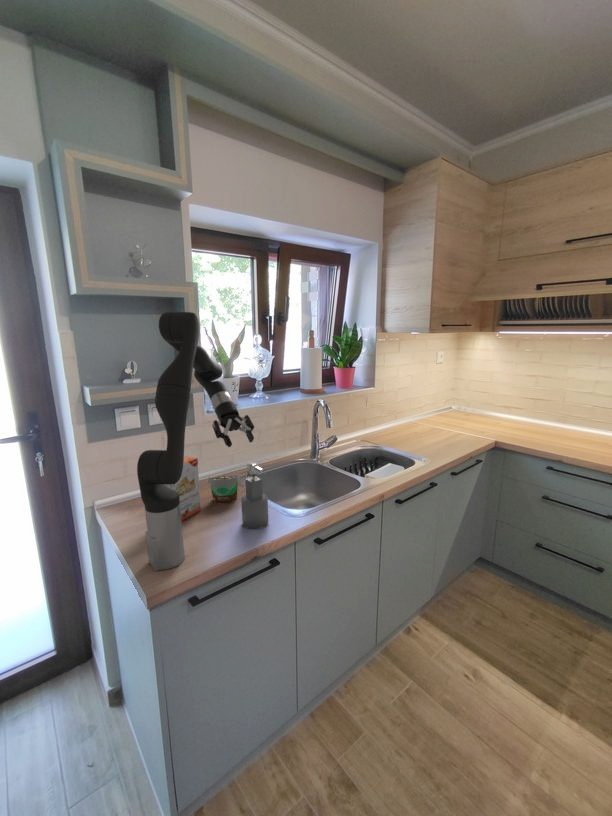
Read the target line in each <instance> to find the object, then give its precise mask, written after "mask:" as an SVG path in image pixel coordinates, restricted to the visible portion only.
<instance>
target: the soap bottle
mask: <svg viewBox="0 0 612 816" xmlns="http://www.w3.org/2000/svg"><path fill="white" fill-rule="evenodd" d="M268 498H269V497H268V496H267V495H266V493H263V480H262V478H260V477H258V476H255V480H252V477H251V476H250V477H248V478H245V495H243V496H242V497H241V498H240V502H241V504H240V505H241V518H242V519H241V521H242V523H241V525H242V526H243V527H244V528H245V529H248V530H259V529H262V527H263V528H265V527H266V526H267V525H268V524H269V502H268ZM264 526H265V527H264Z"/></svg>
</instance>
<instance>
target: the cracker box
mask: <svg viewBox="0 0 612 816" xmlns="http://www.w3.org/2000/svg"><path fill="white" fill-rule="evenodd" d="M198 459H199V458H198V457H194V456H188V455H186V456H184V462H183V470H182V475H181V477H180V479H179V481H178V482H177V483H176V484H164V485H165V486H167V487H168V488H170V489H172V490H175V491H176V492H177V493H178V494H179V498H180V509H181V520H182V522H183V521H184V520H186V519H188V518H190V517H192V516H193V515H195V514H197V513H199V512H200V511H201V496H200V495H201V494H200V491H201V490H200V477H199V476H200V475H199V463H198V462H199V460H198Z"/></svg>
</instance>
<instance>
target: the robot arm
mask: <svg viewBox="0 0 612 816" xmlns="http://www.w3.org/2000/svg"><path fill="white" fill-rule="evenodd" d="M158 330H159V333H160V335H161V337H162V339H163V340H164V341H165V342H166V343H167V344H169V346H171V347H172V348H173V349H175V350H176V351H177V352H178V354H177V355H176V356H175V358H174V359H173V361H172V362H171V363H169V365H168V366H167V368H166V369H164V371H163V373H162V374H161V375H160V377H159V379H158V381H157V385H156V390H155V396H154V397H155V399H154V405H155V408H156V410H157V411H156V412H157V413H158V416H159V417H160V419H161V421H162V423H163V425H164V429H165V431H166V438H167V439H166V450H165V449H164V450H163V449H147V450H144V451H143V452H142V453H141V454H140V455H139V457H138V460H137V466H136V469H137V470H136V472H137V480H138V485H139V491H140V497H141V501H142V503H143V504H144V512H145V519H146V520H145V521H146V529H147V531H145V542H146V550H147V551H146V552H147V559H148V563H149V565H150V566H151V568H152V570H154V572H158V571H165V570H170V569H173V568H176V567H177V566H179V565H180V564H182V563H183V562H184V560H185V559H186V558H185V557H186V554H185V547H184V544H185V543H184V535H183V523H182V522H183V521H182V520H181V509H180V498H179V494H178V493H177V492H176V491H175V490H172V489H170V488H168V487H167V486H165V485H164V484H176V483H177V482H178V481H179V479H180V477H181V475H182V470H183V462H184V457H185V438H186V436H185V435H186V424H187V418H188V410H189V406H190V405H189V403H190V397H191V390H192V389H191V388H192V380H193V379H192V377H193V376H194V378H195V380H196V381H197V382H198V383H199V384H200V385H201V387H203V389H204V390H205V392H206V393H207V395H208V398H209V400H210V402H211V406H212V408H213V410H214V413H215V415H216V418H217V419H218V420H216V419H215V420H213V423H212V425H211V426H212V429H213V432H214V434H215V438H217V439H223V442H224V444H225V446H226V447H228V448H231V447H232V445H233V442H232V440H231V438H230V435H228V433H229V432H233V431H240V432H243V433H245V436H246V438H247V439H248V443H253V441H254V439H255V436H254V435H253V433H252V432H253V431H254V429H255V425H254V423H253V421H252V420H251V418H250V416H249V414H246V415H245V416H240V414H239V411H238V408H237V406H236V404H235V402H234V400H233V398H232V397H231V395H230V393H229V391H228V389H227V387H226V385H225V383H224V382H223V381H221V380H218V379H220V378H221V377H222V376H223V368H222V366H221V364H220V363H219V362H218V361H217V360H215V359H214V358H212V357H210V355H209V354H208V351H207V350H206V349H205V348H204V347H203V346H202V345H201V344H199V340H200V332H201V321H200V317H199V316H198V314H197V313H195V312H191V311H166V312H164V313H161V315H160V317H159V320H158ZM193 370H194V371H193ZM221 427H222V428H223V432H222V430H221Z"/></svg>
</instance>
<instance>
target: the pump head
mask: <svg viewBox="0 0 612 816" xmlns="http://www.w3.org/2000/svg"><path fill="white" fill-rule="evenodd" d="M246 471H247V472H246V474H247V476H248V477H250V478H251V477H252V480H255V476H256V477H258V476H259V475H260V473H263V472H264V468H262V467H260V464H259V463H258V462H249V463H247V464H246Z"/></svg>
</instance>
